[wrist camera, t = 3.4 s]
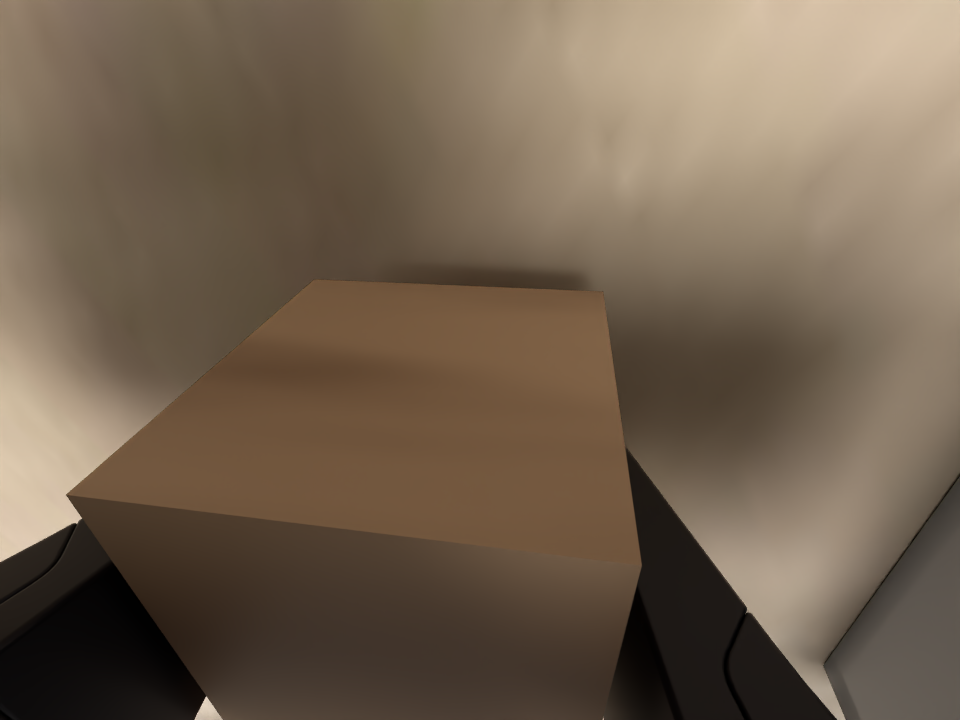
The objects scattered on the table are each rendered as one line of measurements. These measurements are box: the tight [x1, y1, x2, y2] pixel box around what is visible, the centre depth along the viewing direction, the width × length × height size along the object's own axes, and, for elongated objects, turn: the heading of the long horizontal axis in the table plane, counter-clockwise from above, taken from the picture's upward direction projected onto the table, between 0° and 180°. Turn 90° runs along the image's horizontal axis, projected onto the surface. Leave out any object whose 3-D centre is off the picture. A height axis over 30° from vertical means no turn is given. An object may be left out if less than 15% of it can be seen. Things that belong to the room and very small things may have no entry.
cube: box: [66, 279, 642, 720], centre depth 7 cm, size 5×5×5 cm
